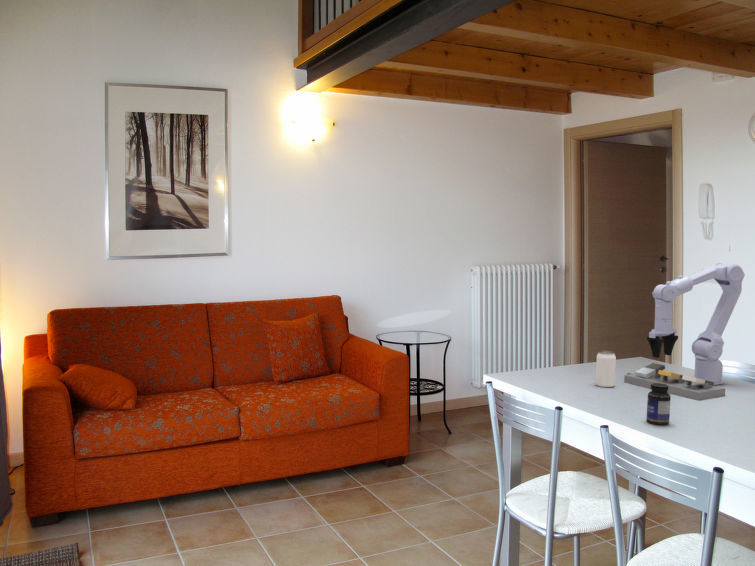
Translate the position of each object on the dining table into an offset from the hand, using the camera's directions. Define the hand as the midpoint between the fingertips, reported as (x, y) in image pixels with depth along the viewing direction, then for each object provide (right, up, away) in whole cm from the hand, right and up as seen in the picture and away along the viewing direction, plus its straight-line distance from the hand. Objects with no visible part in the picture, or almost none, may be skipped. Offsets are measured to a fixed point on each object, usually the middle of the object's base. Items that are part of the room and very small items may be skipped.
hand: (661, 356), depth 245 cm
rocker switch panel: (0, -11, -3) cm, 11 cm away
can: (-21, -10, -2) cm, 24 cm away
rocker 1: (-3, -6, +3) cm, 8 cm away
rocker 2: (+2, -7, -6) cm, 9 cm away
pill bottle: (-21, -14, -48) cm, 54 cm away
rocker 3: (+6, -8, -14) cm, 17 cm away
